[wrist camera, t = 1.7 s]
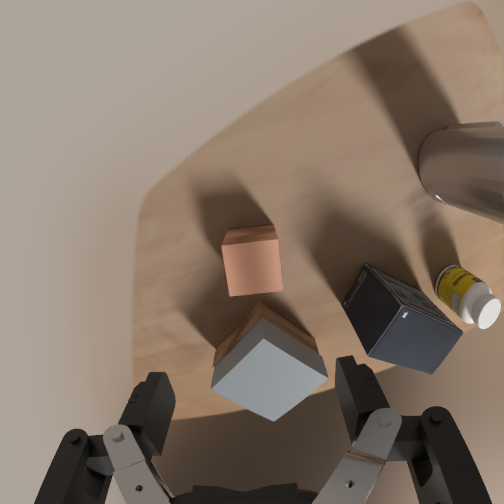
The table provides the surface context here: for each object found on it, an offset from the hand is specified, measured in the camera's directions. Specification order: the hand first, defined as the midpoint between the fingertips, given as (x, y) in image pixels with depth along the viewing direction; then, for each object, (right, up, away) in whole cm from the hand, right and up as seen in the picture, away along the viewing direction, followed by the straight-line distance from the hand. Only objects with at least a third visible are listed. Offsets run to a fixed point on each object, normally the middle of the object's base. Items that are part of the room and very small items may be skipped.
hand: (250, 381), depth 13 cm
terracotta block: (0, +6, +20) cm, 21 cm away
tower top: (+2, -7, +20) cm, 21 cm away
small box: (+17, 0, +22) cm, 27 cm away
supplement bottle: (+27, +2, +21) cm, 34 cm away
